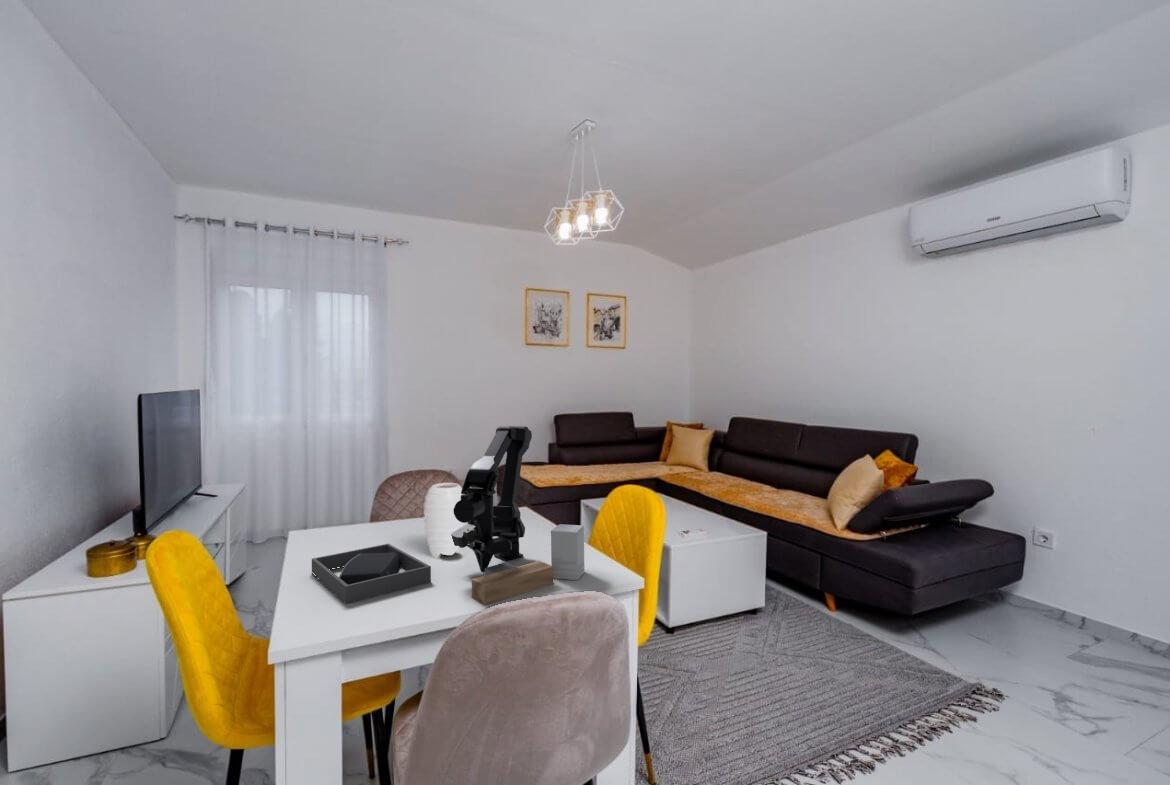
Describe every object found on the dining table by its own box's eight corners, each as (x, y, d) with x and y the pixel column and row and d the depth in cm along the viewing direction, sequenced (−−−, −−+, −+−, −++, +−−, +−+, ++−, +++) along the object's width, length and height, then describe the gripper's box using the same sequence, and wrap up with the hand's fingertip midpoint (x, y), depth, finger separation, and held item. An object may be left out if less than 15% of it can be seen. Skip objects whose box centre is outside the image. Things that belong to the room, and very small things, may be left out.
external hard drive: (331, 591, 130) (331, 575, 130) (354, 566, 149) (354, 551, 149) (386, 589, 131) (386, 572, 131) (402, 564, 151) (402, 549, 151)
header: (461, 591, 130) (461, 573, 130) (528, 572, 143) (528, 556, 143) (485, 605, 122) (484, 585, 122) (553, 583, 135) (553, 566, 135)
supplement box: (585, 571, 144) (585, 525, 144) (577, 580, 137) (577, 532, 137) (559, 569, 146) (559, 523, 146) (550, 578, 139) (550, 530, 139)
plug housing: (484, 584, 135) (484, 568, 135) (505, 578, 139) (505, 562, 139) (495, 589, 132) (495, 572, 132) (516, 582, 136) (516, 566, 136)
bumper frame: (311, 573, 144) (311, 558, 144) (388, 556, 158) (388, 543, 158) (345, 603, 123) (345, 586, 123) (430, 581, 137) (430, 566, 137)
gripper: (438, 512, 143) (438, 570, 143) (474, 525, 129) (475, 589, 129) (474, 506, 150) (474, 560, 151) (512, 517, 137) (513, 577, 137)
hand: (483, 571), depth 142 cm, fingers closed
